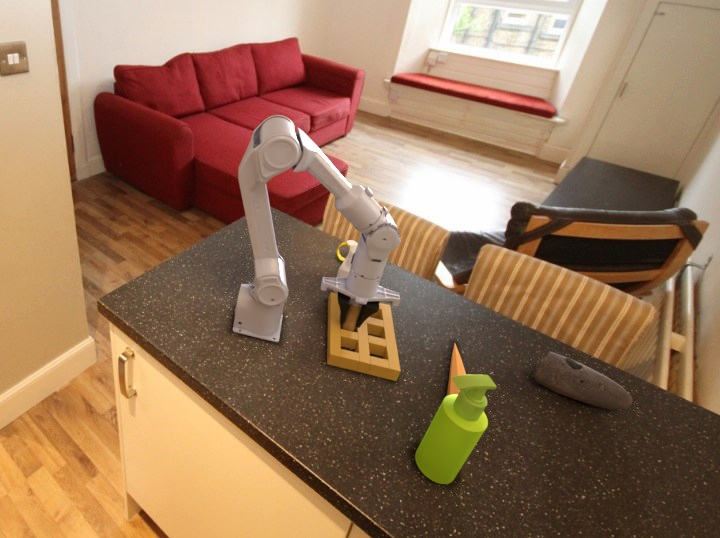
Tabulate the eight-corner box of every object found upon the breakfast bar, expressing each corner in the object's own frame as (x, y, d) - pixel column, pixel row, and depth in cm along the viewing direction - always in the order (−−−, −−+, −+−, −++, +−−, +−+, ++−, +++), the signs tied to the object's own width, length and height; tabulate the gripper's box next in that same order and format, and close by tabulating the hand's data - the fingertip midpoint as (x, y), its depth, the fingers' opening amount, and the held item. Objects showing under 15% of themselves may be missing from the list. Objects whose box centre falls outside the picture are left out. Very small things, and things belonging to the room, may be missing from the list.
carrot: (463, 428, 76) (483, 415, 74) (440, 410, 77) (459, 397, 75) (456, 355, 93) (472, 342, 91) (437, 341, 94) (453, 328, 92)
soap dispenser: (402, 447, 72) (444, 362, 62) (442, 445, 73) (490, 361, 63) (420, 485, 67) (469, 399, 57) (462, 483, 68) (518, 398, 58)
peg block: (327, 364, 85) (330, 354, 84) (328, 301, 101) (330, 291, 100) (396, 381, 83) (400, 371, 82) (386, 314, 99) (390, 304, 97)
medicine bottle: (370, 288, 106) (384, 247, 100) (362, 304, 101) (376, 262, 95) (341, 276, 109) (353, 235, 103) (332, 291, 104) (344, 250, 98)
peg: (340, 334, 91) (349, 305, 87) (340, 325, 93) (349, 296, 89) (353, 337, 91) (363, 308, 87) (352, 328, 93) (362, 299, 89)
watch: (333, 260, 115) (338, 241, 112) (336, 254, 117) (341, 236, 114) (356, 268, 112) (362, 249, 109) (359, 263, 114) (365, 244, 111)
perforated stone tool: (619, 404, 82) (640, 380, 79) (625, 427, 78) (647, 402, 75) (526, 366, 89) (541, 342, 85) (527, 385, 85) (543, 360, 81)
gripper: (327, 274, 82) (312, 327, 89) (409, 292, 79) (388, 345, 86) (327, 252, 88) (314, 304, 95) (404, 268, 85) (384, 320, 92)
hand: (349, 322), depth 91 cm, fingers closed on peg, 2 cm apart
